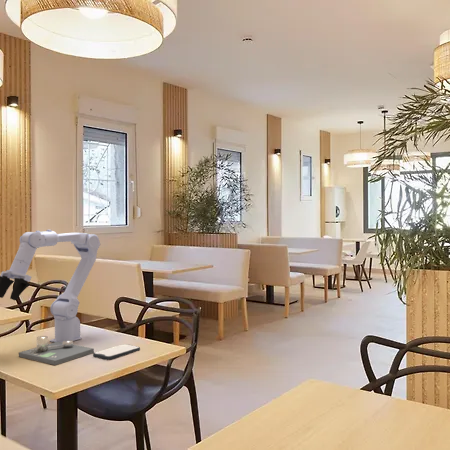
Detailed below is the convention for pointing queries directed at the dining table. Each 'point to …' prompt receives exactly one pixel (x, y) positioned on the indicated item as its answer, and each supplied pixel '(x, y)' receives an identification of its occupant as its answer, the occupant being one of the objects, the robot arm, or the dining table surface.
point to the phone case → (116, 352)
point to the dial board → (57, 354)
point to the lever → (43, 346)
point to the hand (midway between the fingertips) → (6, 298)
